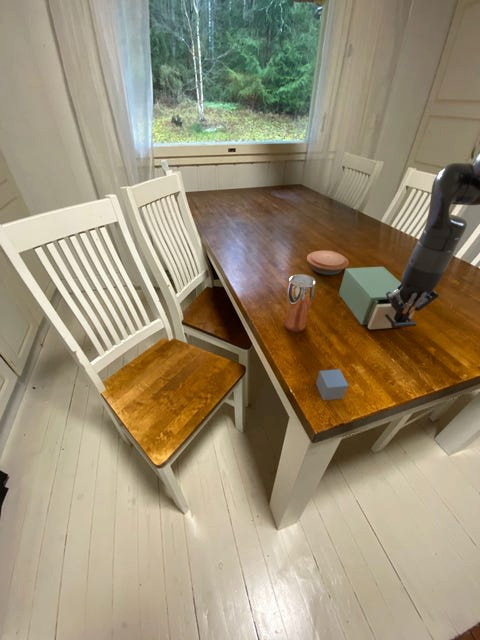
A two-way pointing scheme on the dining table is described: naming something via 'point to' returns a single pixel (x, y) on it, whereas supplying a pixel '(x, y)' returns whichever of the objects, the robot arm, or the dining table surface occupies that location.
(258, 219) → the dining table surface
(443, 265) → the robot arm
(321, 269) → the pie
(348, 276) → the cabinet
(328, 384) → the block
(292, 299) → the metal cup
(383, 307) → the drawer
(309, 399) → the dining table surface
